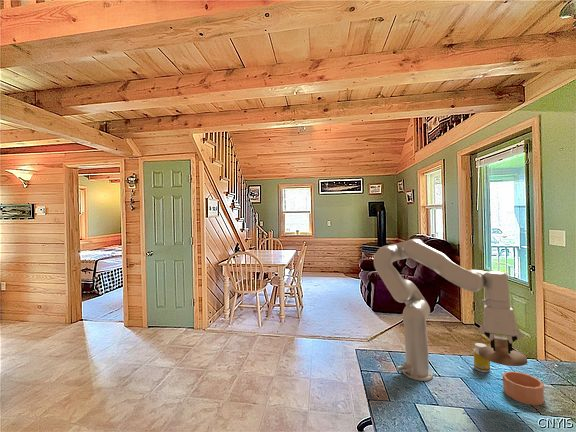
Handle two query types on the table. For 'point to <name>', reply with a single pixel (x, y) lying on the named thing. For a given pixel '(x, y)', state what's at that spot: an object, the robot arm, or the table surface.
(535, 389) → the terracotta bowl
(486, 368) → the pill bottle
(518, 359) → the walnut lid
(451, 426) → the table surface
